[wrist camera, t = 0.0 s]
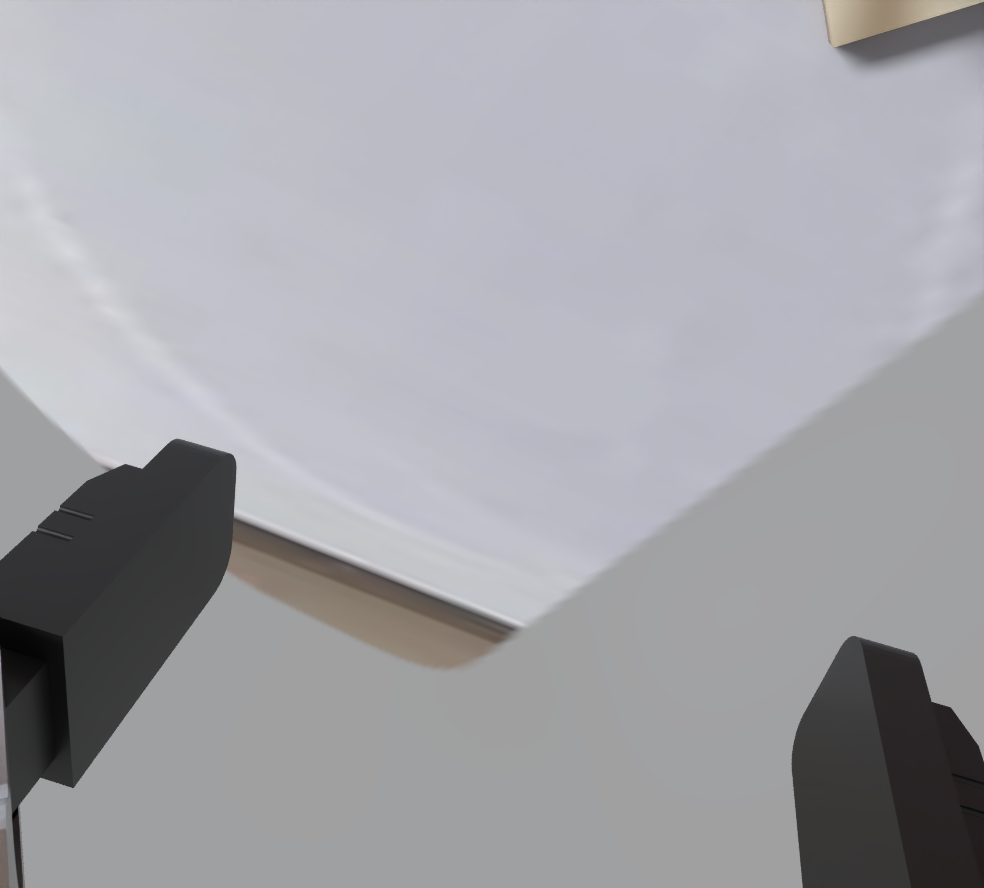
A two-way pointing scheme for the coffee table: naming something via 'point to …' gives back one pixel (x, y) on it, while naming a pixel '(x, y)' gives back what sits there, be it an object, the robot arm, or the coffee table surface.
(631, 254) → the coffee table surface
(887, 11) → the gauge stand
